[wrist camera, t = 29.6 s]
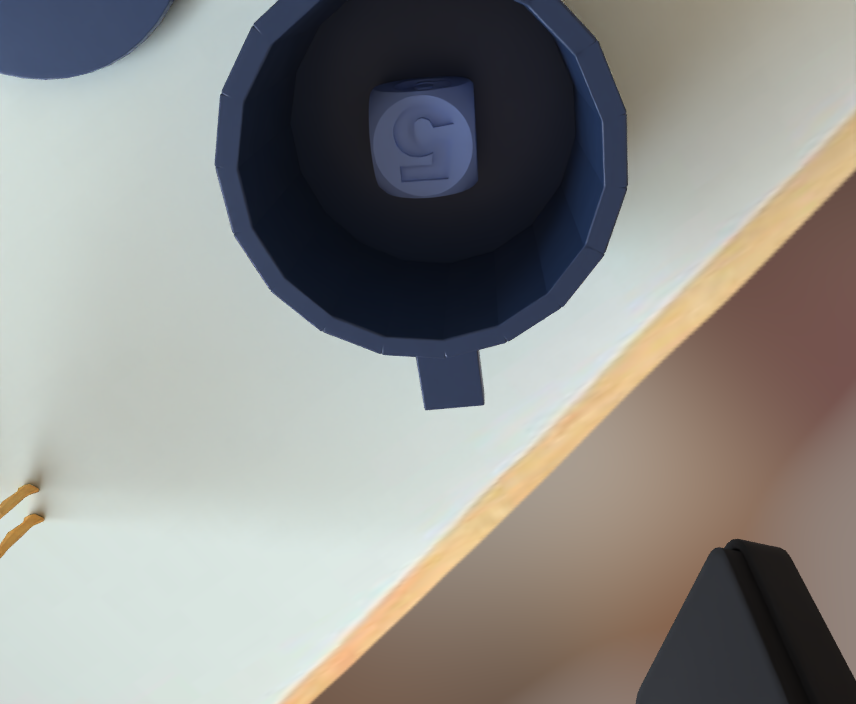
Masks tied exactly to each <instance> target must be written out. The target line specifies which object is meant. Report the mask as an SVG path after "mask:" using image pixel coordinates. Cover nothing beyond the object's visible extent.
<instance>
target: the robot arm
mask: <svg viewBox="0 0 856 704" xmlns="http://www.w3.org/2000/svg"><path fill="white" fill-rule="evenodd" d="M636 704H856V680H855V678H854V677H853V675H852V673H851V671H850V669H849V667H848V665H847V663H846V661H845V659H844V658H843V656H842V654H841V652H840V650H839V648H838V646H837V644H836V642H835V640H834V639H833V637H832V635H831V633H830V631H829V629H828V628H827V625H826V623H825V622H824V620H823V618H822V616H821V614H820V612H819V610H818V609H817V606H816V604H815V603H814V601H813V599H812V597H811V595H810V593H809V591H808V589H807V587H806V586H805V584H804V582H803V580H802V578H801V576H800V574H799V572H798V570H797V569H796V567H795V565H794V563H793V561H792V559H791V557H790V556H789V554H788V553H787V552H786V551H785V550H783V549H781V548H778V547H774V546H769V545H764V544H760V543H755V542H750V541H745V540H741V539H733V540H731V541H730V542H728V543H727V545H726V546H725V548H715V549H714V550H712V551H711V553H710V554H709V556H708V558H707V560H706V562H705V563H704V566H703V567H702V569H701V571H700V573H699V575H698V577H697V579H696V581H695V583H694V585H693V587H692V589H691V590H690V592H689V594H688V596H687V598H686V600H685V602H684V604H683V606H682V608H681V610H680V612H679V614H678V615H677V617H676V619H675V622H674V623H673V625H672V627H671V629H670V631H669V633H668V635H667V637H666V639H665V641H664V642H663V644H662V646H661V648H660V650H659V652H658V654H657V656H656V658H655V660H654V662H653V664H652V665H651V667H650V669H649V671H648V673H647V675H646V677H645V679H644V681H643V683H642V685H641V687H640V689H639V691H638V694H637V699H636Z"/></svg>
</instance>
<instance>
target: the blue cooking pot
mask: <svg viewBox="0 0 856 704" xmlns="http://www.w3.org/2000/svg"><path fill="white" fill-rule="evenodd" d="M443 76H452V77H464V78H468V79H470V80H471V81H472V82H473V86H474V101H475V119H476V138H477V160H478V181H477V183H476V184H475V185H474V186H473V187H471V188H470V189H468V190H465V191H463V192H460V193H456V194H452V195H447V196H441V197H433V198H402V197H396V196H392V195H389V194H388V193H386V192H385V191H384V190H383V189H381V188H380V187H379V185H378V183H377V180H376V177H375V172H374V167H373V161H372V154H371V146H370V134H369V98H370V93H371V91H372V90H373V88H374V87H376V86H378V85H381V84H384V83H388V82H393V81H399V80H406V79H414V78H424V77H443ZM215 166H216V172H217V176H218V180H219V183H220V187H221V191H222V195H223V198H224V202H225V206H226V209H227V213H228V217H229V221H230V224H231V228H232V232H233V233H234V236H235V238H236V239H237V241H238V242H239V244H240V245H241V247H242V248H243V250H244V251H245V253H246V254H247V256H248V257H249V259H250V261H251V262H252V264H253V265H254V267H255V268H256V270H257V271H258V273H259V274H260V276H261V277H262V279H263V280H264V282H265V283H266V285H267V286H268V288H269V289H270V290H271V292H272V293H273V294H275V295H276V296H277V297H279V298H280V299H281V300H282V301H284V302H285V303H286V304H287V305H289V306H290V307H291V308H292V309H294V310H295V311H296V312H297V313H299V314H300V315H301V316H302V317H304V318H305V319H306V320H307V321H309V322H310V323H311V324H312V325H314V326H315V327H316V328H317V329H319V330H320V331H323V332H324V333H327V334H330V335H332V336H335V337H337V338H340V339H343V340H345V341H348V342H350V343H353V344H356V345H358V346H361V347H363V348H366V349H369V350H371V351H374V352H376V353H379V354H383V355H393V356H410V357H416V360H417V366H418V372H419V378H420V384H421V390H422V396H423V402H424V408H425V410H434V409H445V408H457V407H468V406H479V405H484V387H483V378H482V370H481V362H480V353H479V350H480V349H484V348H488V347H492V346H496V345H499V344H503V343H506V342H507V341H510V340H512V339H514V338H515V337H517V336H518V335H520V334H521V333H523V332H524V331H526V330H528V329H529V328H531V327H532V326H534V325H535V324H537V323H538V322H540V321H542V320H543V319H545V318H546V317H548V316H549V315H551V314H552V313H554V312H556V311H557V310H559V309H560V308H561V307H563V306H564V305H565V304H566V303H567V301H568V300H569V299H570V298H571V296H572V295H573V294H574V293H575V291H576V290H577V289H578V288H579V286H580V285H581V284H582V283H583V281H584V280H585V279H586V278H587V276H588V275H589V274H590V273H591V271H592V270H593V269H594V267H595V266H596V265H597V264H598V262H599V261H600V260H601V259H602V257H603V256H604V253H605V252H606V249H607V246H608V243H609V240H610V238H611V235H612V232H613V229H614V226H615V223H616V220H617V217H618V214H619V211H620V209H621V206H622V203H623V200H624V197H625V194H626V191H627V186H628V161H627V115H626V109H625V107H624V104H623V102H622V99H621V97H620V94H619V92H618V89H617V87H616V84H615V82H614V79H613V77H612V74H611V72H610V69H609V67H608V64H607V61H606V59H605V56H604V54H603V51H602V49H601V46H600V44H599V41H597V40H596V37H595V36H594V35H593V34H592V33H591V32H590V31H589V30H588V29H587V28H586V27H585V26H584V25H583V23H582V22H581V21H580V20H579V19H578V18H577V17H576V16H575V15H574V14H573V13H572V12H571V11H570V10H569V8H568V7H567V6H566V5H565V4H564V3H563V2H562V1H561V0H278V1H277V2H276V3H275V4H274V5H273V6H272V7H271V8H270V9H269V10H268V11H267V12H265V13H264V14H263V15H262V16H261V17H260V18H259V19H258V20H257V21H256V22H255V23H254V26H253V27H251V29H250V32H249V34H248V36H247V38H246V40H245V42H244V44H243V46H242V49H241V51H240V53H239V55H238V57H237V59H236V61H235V64H234V66H233V68H232V70H231V72H230V74H229V76H228V78H227V81H226V83H225V85H224V87H223V89H222V94H220V103H219V116H218V129H217V141H216V154H215Z"/></svg>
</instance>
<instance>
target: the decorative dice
mask: <svg viewBox="0 0 856 704" xmlns="http://www.w3.org/2000/svg"><path fill="white" fill-rule="evenodd" d="M369 134H370V146H371V154H372V161H373V167H374V172H375V177H376V180H377V183H378V185H379V187H380V188H381V189H383V190H384V191H385V192H386V193H388V194H389V195H392V196H396V197H402V198H433V197H441V196H447V195H452V194H456V193H460V192H463V191H465V190H468V189H470V188H471V187H473V186H474V185H475V184H476V183H477V181H478V160H477V138H476V119H475V101H474V86H473V82H472V81H471V80H470V79H468V78H464V77H452V76H443V77H424V78H414V79H406V80H399V81H393V82H388V83H384V84H381V85H378V86H376V87H374V88H373V90H372V91H371V93H370V98H369Z"/></svg>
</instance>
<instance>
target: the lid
mask: <svg viewBox="0 0 856 704" xmlns="http://www.w3.org/2000/svg"><path fill="white" fill-rule="evenodd" d="M173 1H174V0H0V74H5V75H10V76H15V77H20V78H28V79H43V80H48V79H62V78H70V77H74V76H79V75H83V74H87V73H91V72H94V71H96V70H99V69H101V68H104V67H106V66H109V65H111V64H113V63H115V62H116V61H118V60H120V59H121V58H123V57H125V56H126V55H128V54H130V53H131V52H132V51H133V50H134V49H136V48H137V47H138V46H139V45H140V44H141V43H143V42H144V41H145V40H146V39H147V38H148V37H149V36H150V34H151V33H152V32H153V31H154V30H155V29H156V27H157V26H158V25H159V24H160V23H161V21H162V20H163V18H164V16H165V15H166V13H167V12H168V10H169V8H170V7H171V5H172V4H173Z"/></svg>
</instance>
